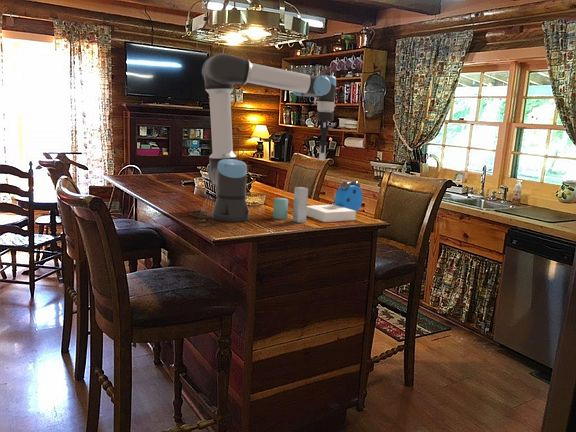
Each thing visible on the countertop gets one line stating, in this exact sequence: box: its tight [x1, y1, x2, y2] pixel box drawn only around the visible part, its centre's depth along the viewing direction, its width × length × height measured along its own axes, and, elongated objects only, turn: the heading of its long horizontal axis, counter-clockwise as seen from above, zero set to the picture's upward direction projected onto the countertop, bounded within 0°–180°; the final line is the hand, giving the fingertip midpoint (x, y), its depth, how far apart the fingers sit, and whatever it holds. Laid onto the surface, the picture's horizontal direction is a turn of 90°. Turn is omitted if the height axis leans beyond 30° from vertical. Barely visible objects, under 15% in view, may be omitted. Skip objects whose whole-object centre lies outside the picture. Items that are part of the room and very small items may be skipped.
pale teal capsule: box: [272, 197, 289, 220], centre depth 208 cm, size 6×6×8 cm
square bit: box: [292, 186, 309, 224], centre depth 202 cm, size 4×4×14 cm
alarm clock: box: [334, 180, 364, 213], centre depth 227 cm, size 13×6×15 cm, turn 131°
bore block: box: [306, 204, 357, 223], centre depth 216 cm, size 16×16×4 cm
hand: (322, 159), depth 225 cm, fingers open, 13 cm apart
